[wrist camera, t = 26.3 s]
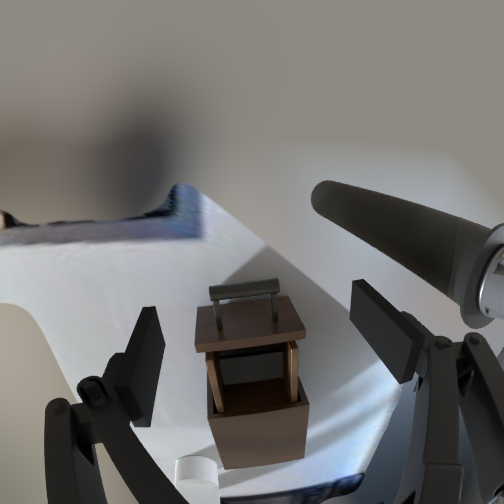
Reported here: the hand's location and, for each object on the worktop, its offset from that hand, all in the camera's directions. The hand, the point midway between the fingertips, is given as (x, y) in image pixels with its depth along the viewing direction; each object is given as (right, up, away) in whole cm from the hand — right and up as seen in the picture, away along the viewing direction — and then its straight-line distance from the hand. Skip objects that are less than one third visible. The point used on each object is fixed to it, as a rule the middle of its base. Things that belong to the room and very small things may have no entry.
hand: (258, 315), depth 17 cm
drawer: (-1, -6, +20) cm, 21 cm away
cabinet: (0, -20, +26) cm, 32 cm away
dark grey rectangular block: (-1, -8, +20) cm, 21 cm away
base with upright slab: (-12, -42, +32) cm, 54 cm away
